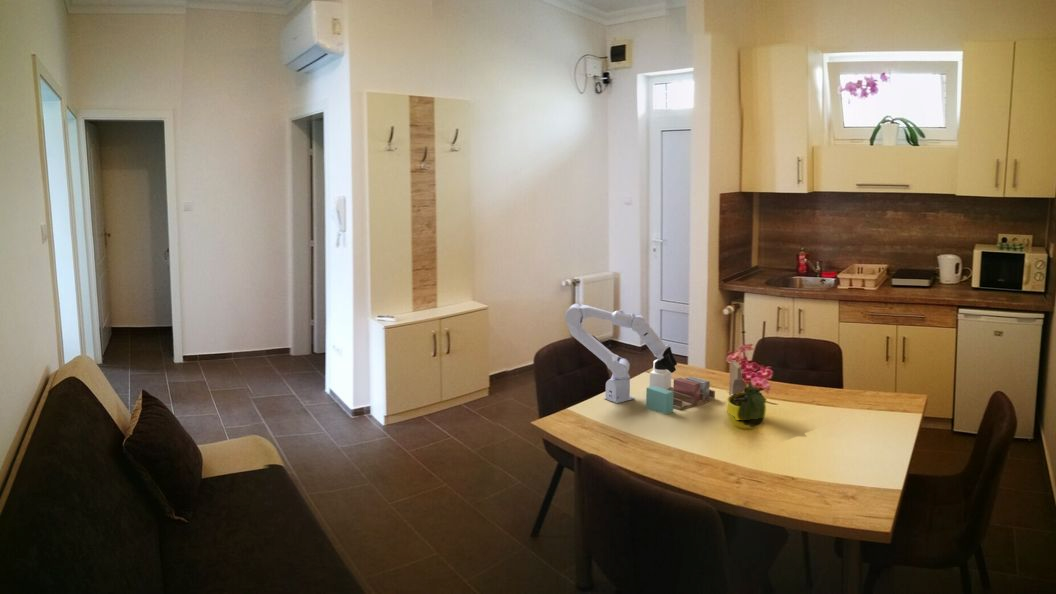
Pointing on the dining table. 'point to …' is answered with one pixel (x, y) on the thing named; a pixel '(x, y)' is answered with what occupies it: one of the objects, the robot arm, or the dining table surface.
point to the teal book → (659, 400)
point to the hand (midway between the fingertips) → (674, 368)
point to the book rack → (691, 392)
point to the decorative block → (736, 379)
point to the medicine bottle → (660, 376)
